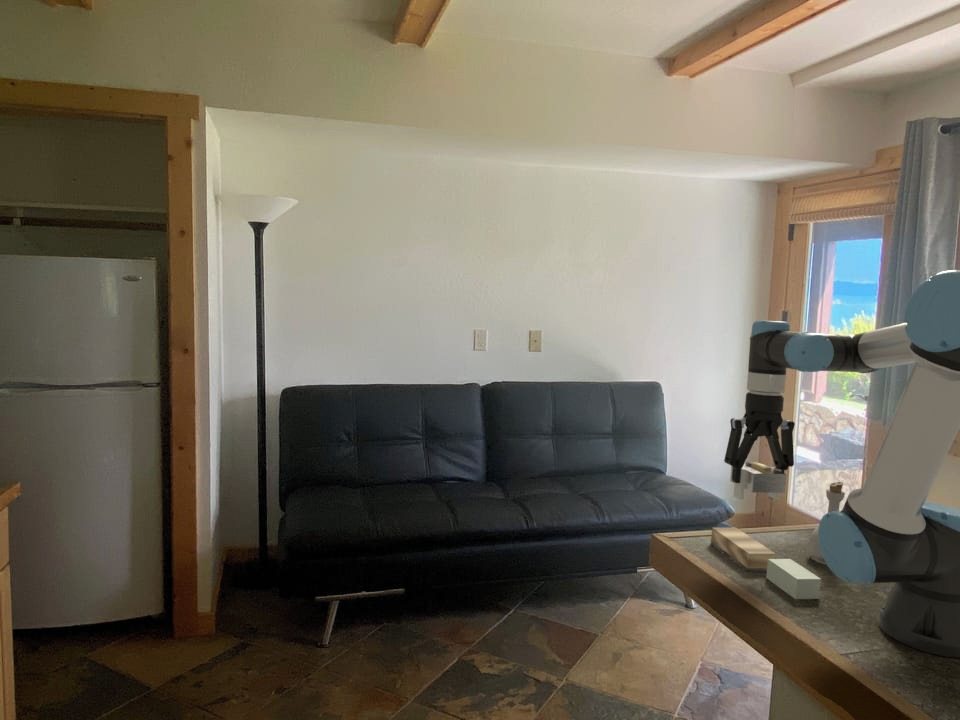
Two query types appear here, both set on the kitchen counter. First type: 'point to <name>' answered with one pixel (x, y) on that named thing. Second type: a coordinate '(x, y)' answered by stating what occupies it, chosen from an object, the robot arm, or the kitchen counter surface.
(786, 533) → the kitchen counter surface
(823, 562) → the potion bottle
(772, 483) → the lever cap
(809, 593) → the block
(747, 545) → the plane body
